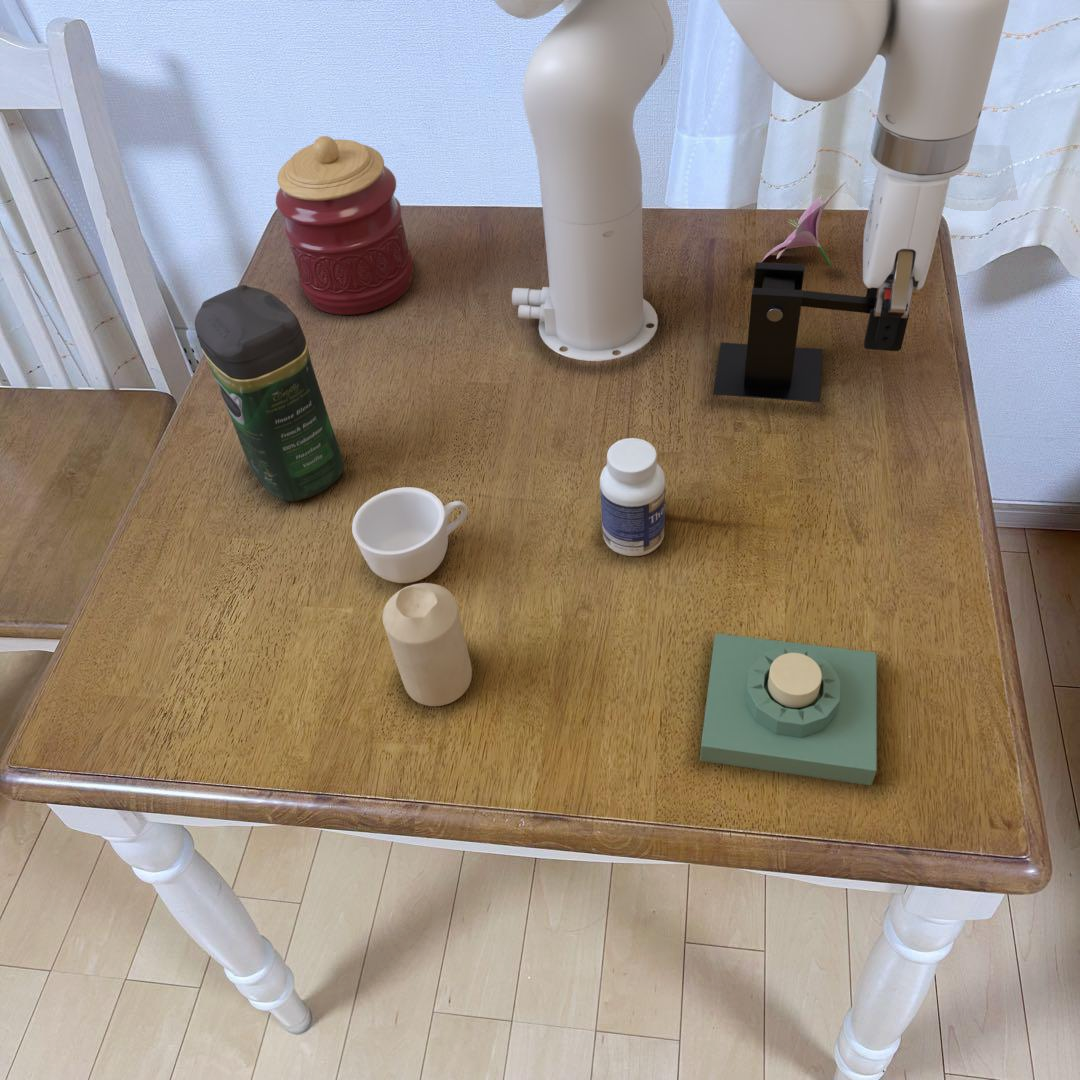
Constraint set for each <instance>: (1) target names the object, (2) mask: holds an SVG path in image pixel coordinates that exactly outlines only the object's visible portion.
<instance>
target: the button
mask: <svg viewBox="0 0 1080 1080" xmlns="http://www.w3.org/2000/svg"><path fill="white" fill-rule="evenodd" d="M821 681H822V673H821V669H820V667H819V666H818V664H817V663H816V662H815V661H814V660H813V659H812V658H810V657H808V656H806V655H804V654H800V653H786V654H783V655H781V656H779V657H778V658H776V659H775V660H774V661H773V663H772V664H771V667H770V672H769V679H768V689H769V692H770V694H771V696H772V697H773V698H774V699H775V700H776V701H777V702H778V703H780V704H782V705H784V706H787V707H791V708H801V707H805V706H808V705H810V704H811V703H812V702H814V701H815V699H816V698H817V696H818V694H819V689H820V685H821Z"/></svg>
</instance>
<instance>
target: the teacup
mask: <svg viewBox="0 0 1080 1080" xmlns="http://www.w3.org/2000/svg"><path fill="white" fill-rule="evenodd" d="M457 508H461V513H460V515H459V516H458V517H457V518H456V519H455V520H453V521H451V522H449V518H450V516H451V514H452V512H453V511H454V510H455V509H457ZM468 514H469V509H468V506H467V505H466V504H465V503H464V502H463V501H461V500H454V501H450V502H448V503H445V504H443V502H442V501H441V500H440V498H439V497H438V496H436V495H435V494H434V493H433V492H431V491H429V490H427V489H423V488H419V487H415V486H413V487H412V486H403V487H395V488H391V489H388V490H385V491H382V492H380V493H378V494H376V495H374V496H372V497H371V498H369V499H368V500H367V501H365V502H364V503H363V504H362V505H361V506H360V507H359V508H358V510H357V512H356V513H355V515H354V517H353V519H352V523H351V532H352V536H353V538H354V540H355V542H356V544H357V547H358V549H359V551H360V553H361V556H363V558H364V561H365V562H366V563H367V566H368V567H369V568H370V570H371V571H372V572H373V573H374V574H375V575H377V576H378V577H379V578H381V579H383V580H386V581H388V582H392V583H396V584H411V583H414V582H415V583H416V582H418V581H421V580H423V579H425V578H427V577H429V576H430V575H431V574H433V573H434V572H435V571H436V570H437V569H438V568H439V567H440V565H441V564H442V562H443V560H444V559H445V556H446V553H447V550H448V545H449V535H451V533H453V531H455V530H456V529H457V528H458V527H459V526H460V525H461V524H463V522H464V521H465V520H466V519H467V517H468ZM448 522H449V523H448Z"/></svg>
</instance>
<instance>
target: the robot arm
mask: <svg viewBox="0 0 1080 1080" xmlns="http://www.w3.org/2000/svg"><path fill="white" fill-rule="evenodd" d="M493 1H494V2H495V4H496V5H497V6H498V7H499V8H500V9H501V10H502V11H504V12H505V13H506V14H508V15H510V16H512V17H515V18H517V19H522V20H531V19H537V18H539V17H542V16H544V15H547V14H548V13H550V12H551V11H553V10H555V9H556V8H557V7H559V6H560V5H562V8H563V10H564V12H565V14H566V15H565V16H563V18H562V19H561V20H559V22H558V23H557V24H556V25H555V26H554V27H553V28H552V29H551V30H550V31H549V32H548V33H547V34H546V35H545V37H544V38H543V39H542V40H541V42H540V43H539V44H538V46H537V47H536V48H535V50H534V51H533V53H532V55H531V57H530V59H529V61H528V64H527V66H526V70H525V73H524V77H523V82H522V83H523V84H522V101H523V102H522V103H523V107H524V108H523V109H524V113H525V117H526V122H527V125H528V128H529V131H530V134H531V138H532V143H533V147H534V150H535V156H536V163H537V170H538V171H537V172H538V178H539V188H540V199H541V200H540V201H541V206H542V220H543V230H544V240H545V252H546V264H547V274H548V285H549V286H542V288H541V289H531V288H526V287H512V288H513V289H512V291H511V304H512V306H513V307H518V308H517V317H518V319H521V320H522V319H523V320H532V319H533V320H534V319H535V320H539V321H538V331H539V332H538V333H539V336H540V338H541V339H542V342H543V343H544V344H545V345H546V346H547V347H548V348H549V349H551V350H552V351H554V352H555V353H557V354H559V355H561V356H564V357H566V358H570V359H574V360H577V361H578V360H579V361H587V362H602V361H611V360H614V359H615V360H616V359H619V358H622V357H626V356H628V355H631V354H633V353H636V352H637V351H638V350H641V349H642V348H643V347H644V346H646V345H647V344H648V343H650V341H651V340H652V339H653V337H654V336H655V334H656V332H657V329H658V325H659V319H658V314H657V313H656V310H655V308H654V307H653V305H651V303H650V302H649V301H647V300H646V299H644V249H643V248H644V245H643V244H644V243H643V242H644V241H643V238H644V237H643V236H644V235H643V230H644V229H643V174H642V173H643V172H642V162H641V155H640V151H639V146H638V144H637V140H636V135H635V132H634V131H635V130H634V118H635V112H636V110H637V107H638V105H639V104H640V103H641V101H642V100H643V99H644V97H645V95H646V94H647V92H649V90H650V89H651V87H652V86H653V85H654V83H655V82H656V81H657V79H659V76H660V75H661V73H662V72H663V70H664V69H665V67H666V66H667V64H668V62H669V59H670V57H671V54H672V51H673V47H674V46H673V45H674V38H675V33H674V32H675V29H674V22H673V17H672V13H671V10H670V6H669V3H668V0H493ZM717 2H718V4H719V6H720V8H721V10H722V11H723V13H724V15H725V17H726V18H727V20H728V21H729V23H730V24H731V26H732V27H733V29H734V31H736V33H737V34H738V37H740V39H741V41H742V42H743V43H744V45H745V46H746V47H747V48H748V50H749V52H750V54H751V55H752V56H753V57H754V58H755V60H756V62H757V63H758V64H759V66H761V68H762V69H763V70H764V72H765V73H766V74H767V75H768V76H769V78H771V80H772V81H773V82H774V83H776V84H777V85H778V86H779V87H780V88H781V89H782V90H784V91H785V92H787V93H788V94H790V95H792V96H793V97H796V98H797V99H801V100H803V101H807V102H814V103H821V102H829V101H832V100H836V99H838V98H841V97H842V96H844V95H846V94H847V93H849V92H850V91H851V90H852V89H854V88H855V87H856V86H857V85H859V84H860V83H861V81H862V80H863V79H864V77H866V75H867V73H868V72H869V69H870V68H871V66H872V65H873V63H874V61H875V60H876V57H877V56H882V57H883V58H884V61H885V66H884V67H885V68H884V73H883V78H882V84H881V90H880V96H879V101H878V107H877V113H876V117H875V123H874V130H873V134H872V140H871V145H870V151H869V158H870V161H871V163H872V164H873V165H874V167H875V168H877V169H876V175H875V180H874V184H873V188H872V193H871V199H870V202H869V208H868V211H867V216H866V220H865V225H864V230H863V238H862V282H863V284H864V286H865V287H866V293H865V297H872V298H876V302H875V308H874V309H871V311H870V313H869V316H868V321H867V325H866V331H865V336H864V341H863V347H864V349H866V350H873V351H885V352H886V351H888V352H899V351H901V349H902V348H903V347H902V346H903V343H904V338H905V334H906V329H907V326H908V321H909V318H910V306H911V302H912V296H913V291H915V292H918V291H919V290H921V289H922V288H923V287H924V285H925V283H926V281H927V280H926V279H927V276H928V273H929V270H930V266H931V262H932V258H933V256H934V255H933V254H934V250H935V246H936V243H937V238H938V234H939V229H940V225H941V221H942V217H943V211H944V207H945V205H946V198H947V195H948V194H947V193H948V190H949V189H948V188H949V184H950V179H951V178H952V177H955V176H957V175H960V173H962V172H963V171H964V170H966V168H967V167H968V164H969V163H970V157H971V153H972V149H973V146H974V142H975V138H976V134H977V131H978V127H979V123H980V122H979V121H980V119H981V114H982V112H983V107H984V102H985V100H986V99H985V98H986V95H987V91H988V88H989V84H990V79H991V77H992V76H991V75H992V72H993V68H994V64H995V60H996V56H997V52H998V49H999V44H1000V40H1001V37H1002V33H1003V29H1004V24H1005V21H1006V17H1007V13H1008V9H1009V4H1010V0H717ZM885 289H890V290H891V296H890V298H889V299H885V300H884V294H885ZM883 300H884V302H883ZM647 325H653V326H652V327H647ZM561 348H567V350H565V351H562V350H560V349H561ZM615 351H618V352H620V353H619V354H614V353H613V352H615Z"/></svg>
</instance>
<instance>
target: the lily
mask: <svg viewBox="0 0 1080 1080" xmlns="http://www.w3.org/2000/svg"><path fill="white" fill-rule="evenodd" d="M846 183H847V181H846V182H844V183H843V184H841V185H840V186H839V187H837V188H836V189H835V190H834V191H833V192H832V193H831V194H830V195H829V196H828V197H827V198H826V199H825V200H824V201H823V200H822V195H823V193H821V194H820V195H819V196H818V197H817V198H816V199H815V200H814V201H813V202H812V203H811V204H810V205H809V206H808V207H807V208H806V210H805V211H804V212H803V213H802V215H801V216H800V217H798V216H796V220H797V222H796V220H795V219H794V217H792V216H791V217H790V218H787V220H788V221H786V220H784V223H787V224H788V223H789V224H791V225H792V226H793V227H795V229H794V230H792V232H791V233H790V234H789V236H788V237H787V238H786V239H785V240H784V242H782V243H779V244H778V245H776V246H775V247H773V248H772V249H771V250H770V251H769V252H767V253H766V254H765V256H764V257H763V259H762V260H761V262H760V263H764V261H765V260H766V259H767V258H768V257H769V256H771V255H772V254H773V253H774V252H776V251H779V250H780V249H782V248H784V249H782V250H780V251H779V252H778V253H777V255H776V260H778V259H779V258H780V257H781V256H782V255H783V253H784V252H785V250H788V249H796V248H802V247H803V248H804V247H810V246H815V247H816V248H817V249H818V250H819V252H820V253H821V254H822V256H823V258H824V260H825V261H826V263H827V266H829V267H831V266H832V263H831V261H830V259H829V256H828V255H827V253H826V252H825V251H824V249H823V248H822V246H821V244H820V242H819V227H820V221H821V218H822V217H821V216H822V214H823V211H824V210H825V207H826V206H827V205H828V203H829V202H830V201H831V199H832V198H833V197H834V196H835V195H836V194H837V192H838V191H839V190H841V188H843V186H844V185H845V184H846Z"/></svg>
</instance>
